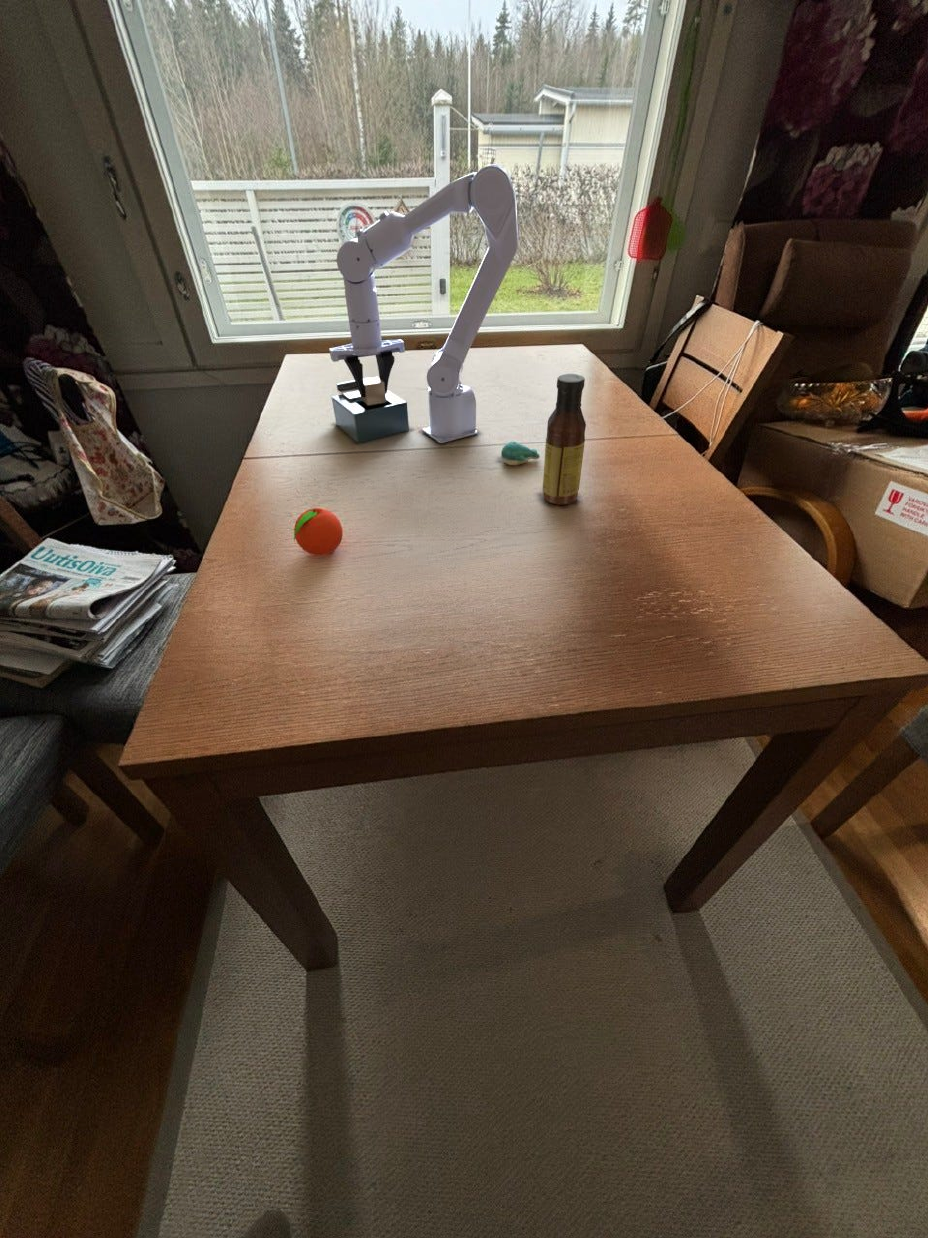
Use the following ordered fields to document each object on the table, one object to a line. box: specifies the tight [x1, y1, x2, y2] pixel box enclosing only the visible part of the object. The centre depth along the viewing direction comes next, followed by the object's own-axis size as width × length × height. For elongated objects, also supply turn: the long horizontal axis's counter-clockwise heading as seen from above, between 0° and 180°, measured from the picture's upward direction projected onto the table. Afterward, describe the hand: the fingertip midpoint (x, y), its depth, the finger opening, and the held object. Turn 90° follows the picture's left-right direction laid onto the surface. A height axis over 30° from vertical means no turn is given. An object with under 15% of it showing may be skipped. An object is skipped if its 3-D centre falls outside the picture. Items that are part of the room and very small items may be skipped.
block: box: [362, 376, 386, 406], centre depth 103 cm, size 4×4×4 cm
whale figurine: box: [500, 441, 540, 466], centre depth 97 cm, size 6×7×4 cm
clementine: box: [293, 507, 344, 557], centre depth 74 cm, size 8×7×7 cm
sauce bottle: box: [541, 373, 587, 506], centre depth 81 cm, size 7×6×20 cm
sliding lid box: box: [331, 389, 410, 444], centre depth 109 cm, size 12×12×6 cm
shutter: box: [335, 377, 366, 401], centre depth 109 cm, size 8×7×2 cm
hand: (373, 394), depth 104 cm, fingers closed on block, 4 cm apart
